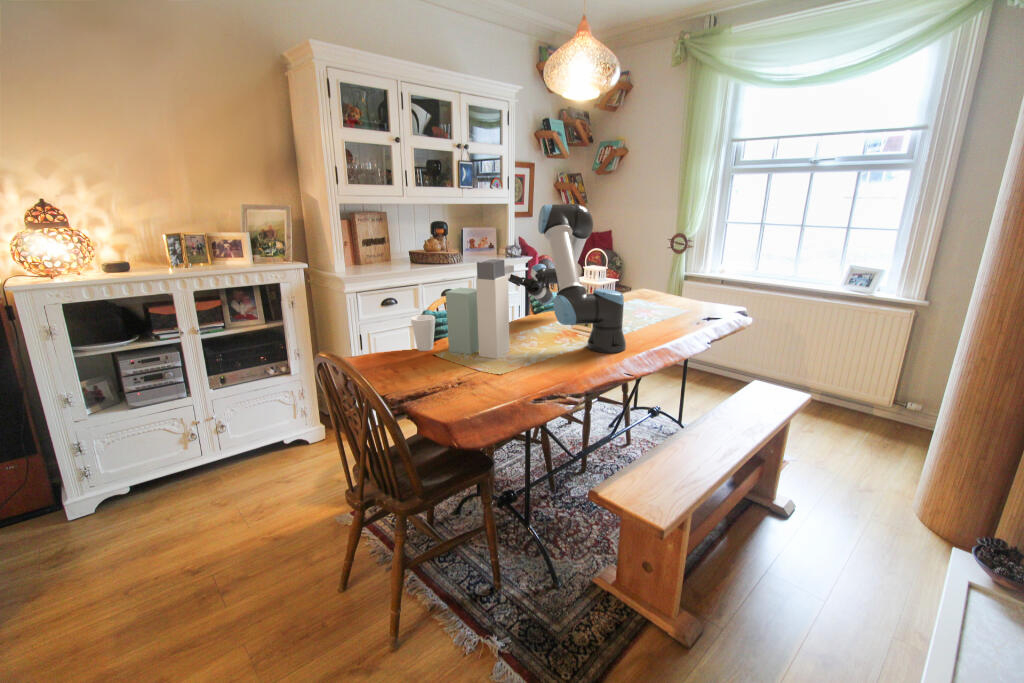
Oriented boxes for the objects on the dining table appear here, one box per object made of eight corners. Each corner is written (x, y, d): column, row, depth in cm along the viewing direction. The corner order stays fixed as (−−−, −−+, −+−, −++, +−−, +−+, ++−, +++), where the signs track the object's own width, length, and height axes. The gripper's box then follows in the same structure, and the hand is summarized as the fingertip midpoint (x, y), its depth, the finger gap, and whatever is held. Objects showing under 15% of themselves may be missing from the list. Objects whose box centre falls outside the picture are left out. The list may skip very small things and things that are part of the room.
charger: (516, 271, 187) (516, 256, 185) (494, 278, 172) (493, 262, 170) (505, 271, 189) (505, 256, 187) (482, 278, 174) (481, 261, 172)
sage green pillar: (483, 347, 192) (481, 289, 185) (470, 354, 183) (467, 294, 176) (462, 344, 196) (460, 287, 189) (449, 351, 188) (445, 292, 181)
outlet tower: (509, 351, 187) (507, 259, 176) (497, 359, 178) (494, 263, 168) (491, 348, 190) (489, 259, 180) (479, 356, 182) (475, 262, 171)
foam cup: (412, 346, 195) (409, 315, 191) (434, 344, 198) (432, 314, 194) (415, 353, 186) (412, 321, 182) (438, 350, 189) (436, 319, 185)
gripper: (513, 279, 226) (493, 261, 207) (562, 282, 215) (546, 264, 196) (510, 293, 224) (490, 277, 206) (558, 298, 213) (542, 281, 195)
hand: (517, 271), depth 201 cm, fingers open, 13 cm apart
